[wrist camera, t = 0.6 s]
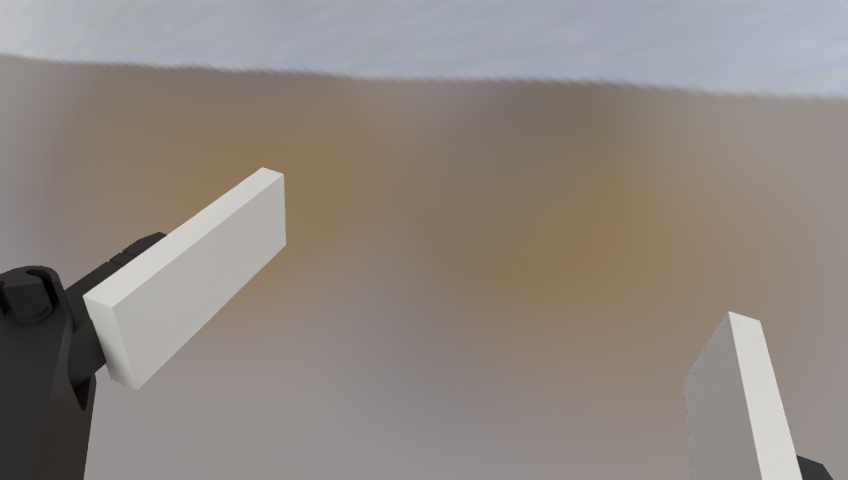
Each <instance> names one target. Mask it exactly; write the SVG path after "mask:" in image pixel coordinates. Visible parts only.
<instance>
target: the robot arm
mask: <svg viewBox="0 0 848 480" xmlns="http://www.w3.org/2000/svg"><path fill="white" fill-rule="evenodd" d="M284 198H285V197H284V174H282V173H279V172H276V171H272V170H269V169H266V168H261V169H259V170H258V171H256V172H255V173H254V174H252V175H251V176H250V177H248V178H247V179H245V180H244V181H243V182H241V183H240V184H238V185H237V186H236V187H234V188H233V189H231V190H230V191H228V192H227V193H226V194H224V195H223V196H221V197H220V198H219V199H217V200H216V201H214V202H213V203H212V204H210V205H209V206H208V207H206V208H205V209H203V210H202V211H200V212H199V213H198V214H196V215H195V216H194V217H192V218H191V219H190V220H188V221H187V222H185V223H184V224H182V225H181V226H180V227H178V228H177V229H175V230H174V231H173V232H171V233H170V234H168V235H166V234H163V233H161V232H158V233H155V234H153V235H150V236H147V237H144V238H142V239H139V240H137V241H136V242H134V243H133V244H132V245H130V246H129V247H127V248H126V249H124V250H123V252H122V253H119V254H117V255H116V256H114V257H113V258H111V259H110V261H109V262H105V263H104V264H102V265H101V266H99V267H98V268H96V269H95V270H94V271H92V272H91V273H90V274H88V275H86V276H85V277H83V278H82V279H80V280H79V281H78V282H76V283H74V284H73V285H72V286H70V287H69V288H67V289H66V290H64V289H63V286H62V284H61V281H60V278H59V276H58V274H57V273H56V272H55V271H54V270H53V269H51V268H48V267H44V266H25V267H20V268H15V269H12V270H10V271H7V272H5V273H2V274H0V480H83V479H84V472H85V464H86V457H87V450H88V441H89V435H90V427H91V420H92V412H93V405H94V398H95V390H96V377H95V372H96V371H97V370H98V369H100V368H101V367H102V366H103V365H104V364H105V363H106V366H107V368H108V371H109V374H110V377H111V379H112V380H114V381H116V382H119V383H121V384H124V385H126V386H128V387H130V388H133V389H135V390H138V389H139V388H140V387H141V386H142V385H143V384H144V383H145V382H146V381H147V380H148V379H149V378H150V377H151V376H152V375H153V374H154V373H155V372H156V371H157V370H158V369H159V368H160V367H162V365H164V364H165V363H166V362H167V360H169V359H170V358H171V357H172V356H173V355H174V354H175V353H176V352H177V351H178V350H179V349H180V348H181V347H182V346H183V345H184V344H185V343H186V342H187V341H188V340H189V339H190V338H191V337H192V336H193V335H194V334H195V333H196V332H197V331H198V330H199V329H200V328H201V327H202V326H203V325H204V324H205V323H207V321H209V320H210V319H211V318H212V317H213V316H214V314H216V313H217V312H218V311H219V310H220V309H221V308H222V307H223V306H224V305H225V304H226V303H227V302H228V301H229V300H230V299H231V298H232V297H233V296H234V295H235V294H236V293H237V292H238V291H239V290H240V289H241V288H242V287H243V286H244V285H245V284H246V283H247V282H248V281H249V280H250V279H251V278H252V277H254V276H255V274H257V272H259V271H260V270H261V268H263V266H265V265H266V264H267V263H268V262H269V261H270V260H271V259H272V258H273V257H274V256H275V255H276V254H277V253H278V252H279V251H280V250H281V249H282V248H283V247H284V246H285V245H286V231H285V199H284ZM684 387H685V401H686V413H687V426H688V438H689V451H690V463H691V476H692V480H833V479H832V477H831V476H830V475H829V473H828V472H827V470H826V469H825V467H824V466H823V464H820V463H817V462H815V461H812V460H809V459H806V458H803V457H800V456H798V455H796V454H795V451H794V446H793V443H792V439H791V435H790V432H789V428H788V424H787V421H786V417H785V413H784V410H783V406H782V402H781V398H780V395H779V391H778V387H777V383H776V380H775V376H774V372H773V369H772V365H771V361H770V357H769V354H768V350H767V346H766V342H765V339H764V335H763V331H762V328H761V324H760V321H759V320H755V319H752V318H749V317H746V316H742V315H739V314H736V313H732V312H729V311H728V313H727V314H726V316H725V317H724V319H723V320H722V322H721V323H720V325H719V327H718V328H717V330H716V331H715V333H714V334H713V336H712V337H711V339H710V340H709V342H708V343H707V345H706V346H705V348H704V349H703V351H702V352H701V354H700V355H699V357H698V359H697V360H696V362H695V363H694V365H693V366H692V368H691V369H690V371H689V372H688V374H687V375H686V377H685V378H684Z"/></svg>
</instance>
